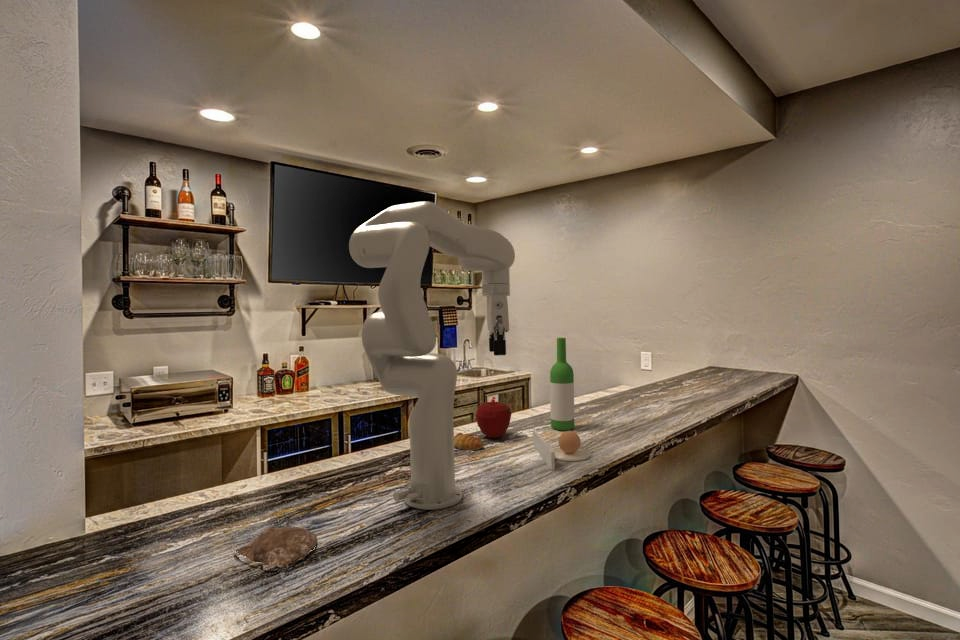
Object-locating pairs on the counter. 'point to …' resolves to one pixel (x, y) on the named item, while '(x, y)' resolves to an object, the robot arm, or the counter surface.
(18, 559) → the counter surface
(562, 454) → the saucer
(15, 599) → the counter surface
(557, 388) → the wine bottle
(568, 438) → the ball
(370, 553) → the counter surface
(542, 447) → the wall
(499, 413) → the apple
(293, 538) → the shell
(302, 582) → the counter surface
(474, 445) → the pastry
